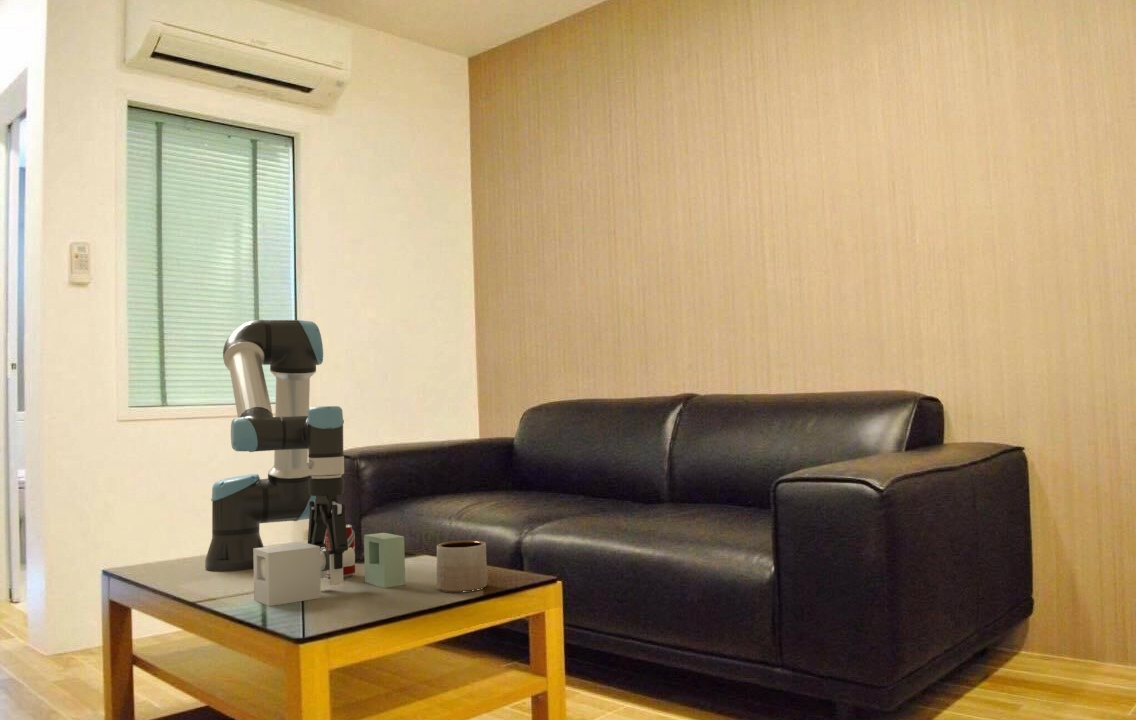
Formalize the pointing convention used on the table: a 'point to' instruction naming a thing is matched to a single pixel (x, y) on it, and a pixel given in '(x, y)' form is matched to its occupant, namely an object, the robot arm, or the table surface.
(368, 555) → the socket block
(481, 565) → the planter
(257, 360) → the robot arm
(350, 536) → the soda can
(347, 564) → the slip tube
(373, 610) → the table surface
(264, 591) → the sleeve block
